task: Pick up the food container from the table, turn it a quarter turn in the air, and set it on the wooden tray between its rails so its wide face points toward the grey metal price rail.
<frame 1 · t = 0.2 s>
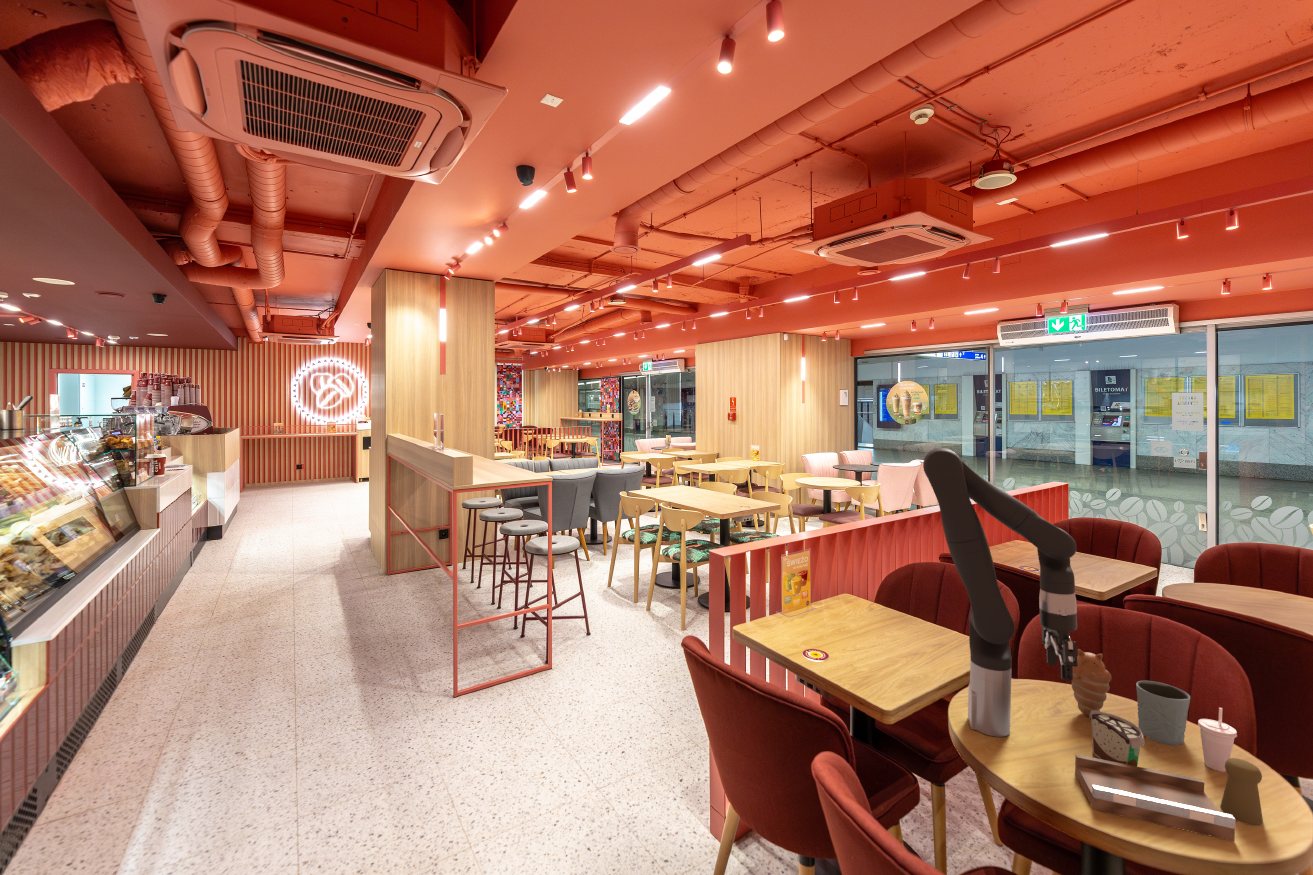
hand: (1059, 671, 136), 18 cm above the table, tool pointing down, fingers open, 8 cm apart
cork: (1241, 815, 112), on the table
wooden tray: (1147, 804, 115), on the table
grey blue pot: (1161, 735, 140), on the table
food container: (1121, 766, 128), on the table
cat ice cream: (1088, 716, 149), on the table
smoothie: (1215, 767, 127), on the table
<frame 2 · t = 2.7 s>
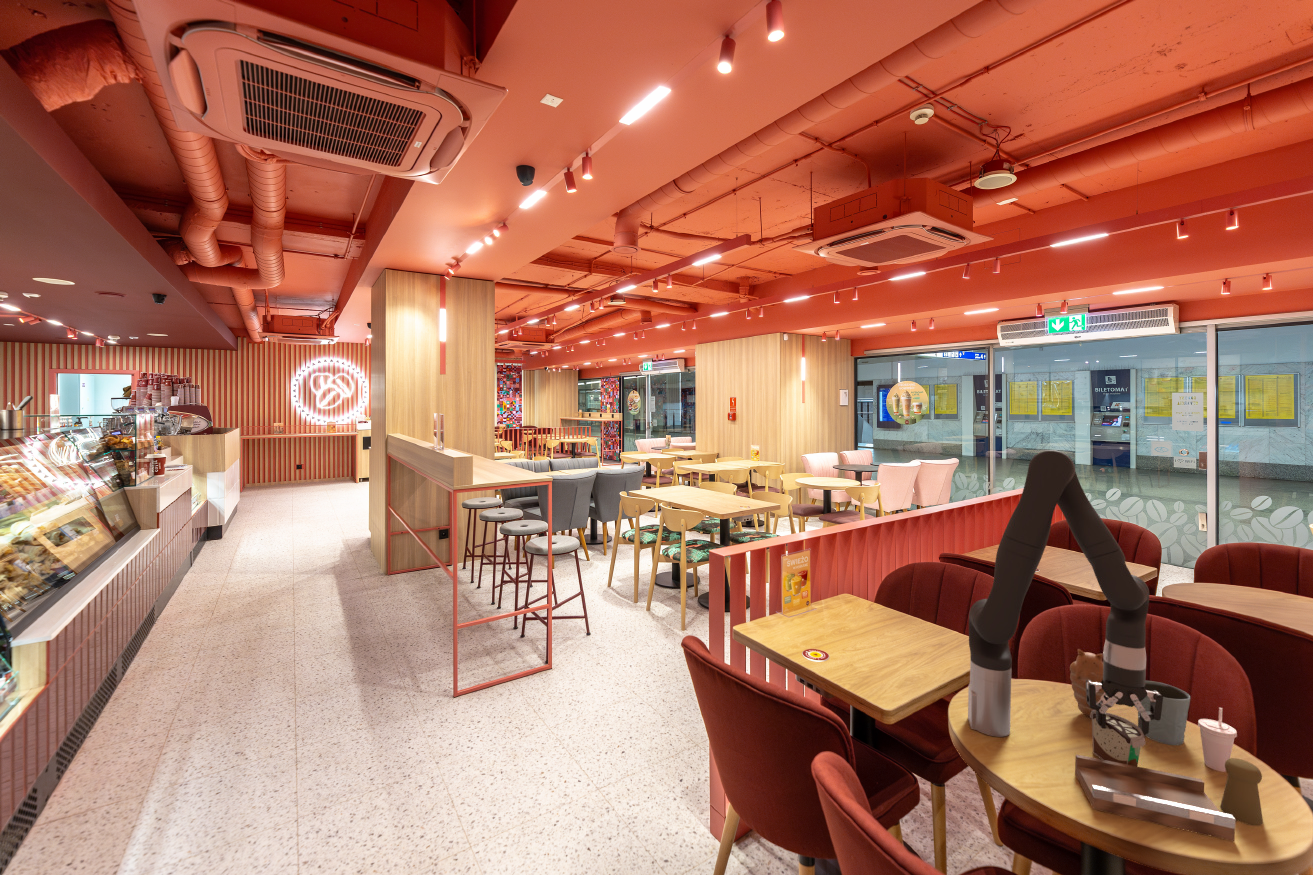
hand: (1121, 730, 128), 8 cm above the table, tool pointing down, fingers closed on food container, 7 cm apart
food container: (1121, 765, 128), on the table, touching gripper
everything else where it was.
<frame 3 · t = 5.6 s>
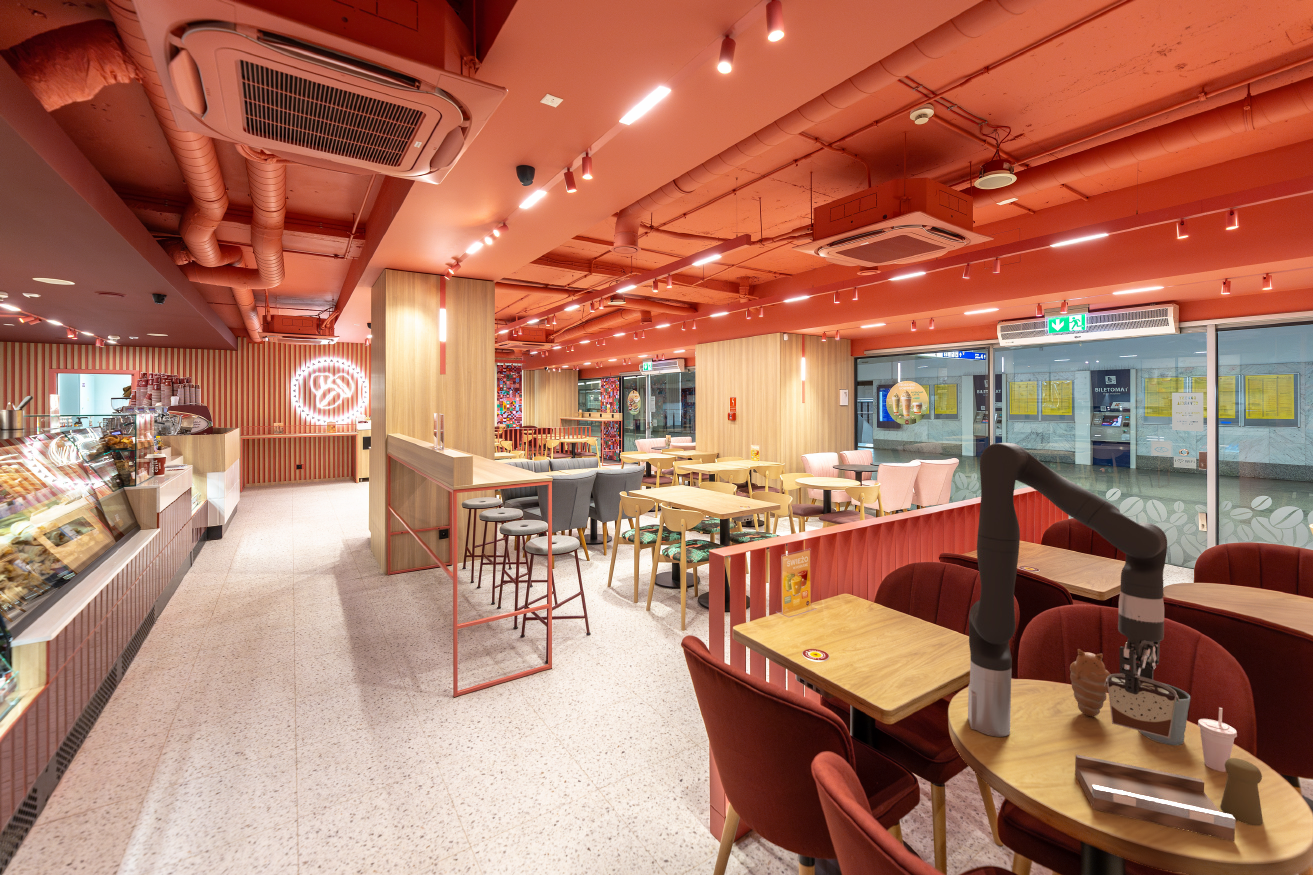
hand: (1139, 688, 120), 22 cm above the table, tool pointing down, fingers closed on food container, 7 cm apart
food container: (1139, 725, 121), point 13 cm above the table, touching gripper
everything else where it was.
when the fingers open (13 cm above the table, at t = 8.2 s): food container drops 2 cm, resting on wooden tray.
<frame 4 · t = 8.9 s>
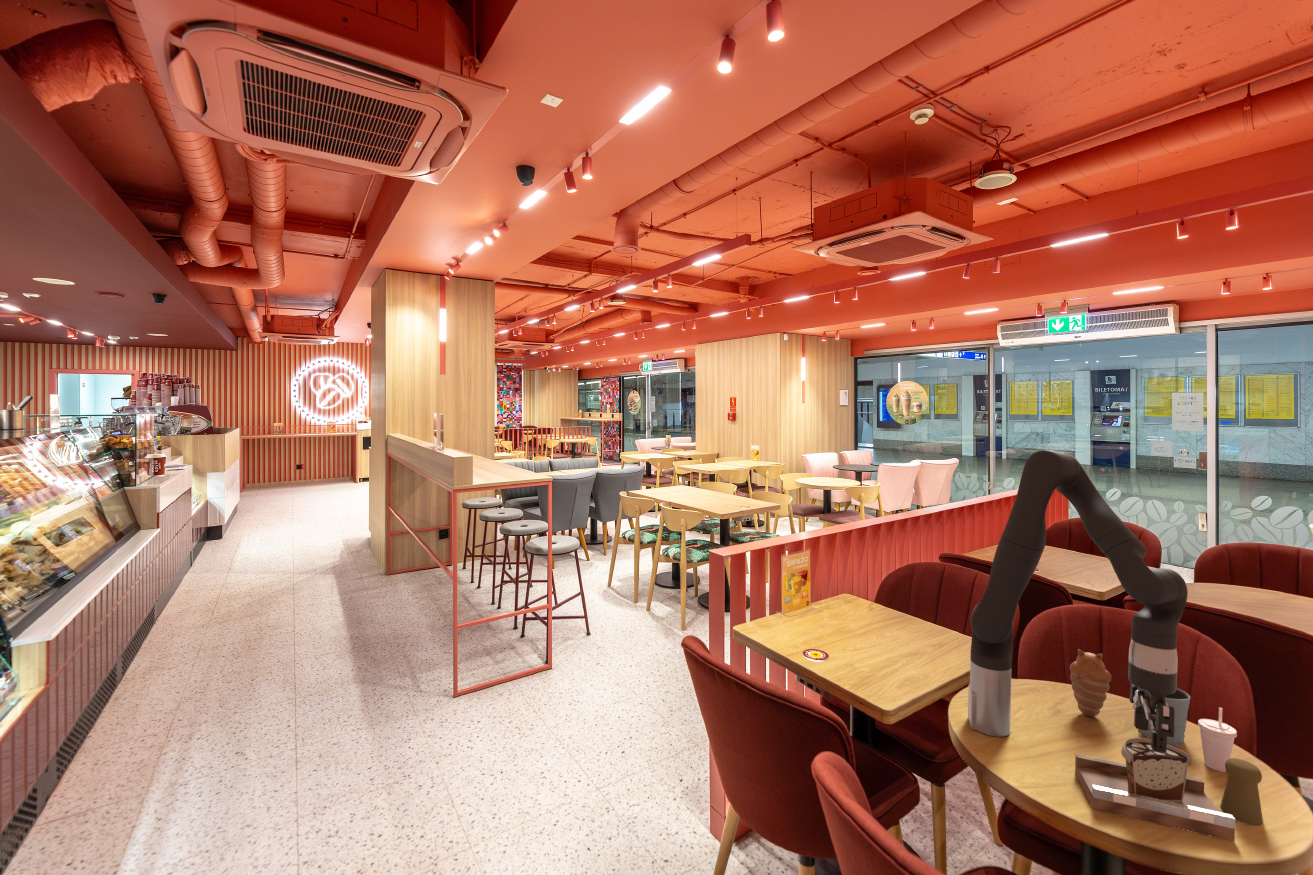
hand: (1149, 739, 114), 14 cm above the table, tool pointing down, fingers open, 8 cm apart
food container: (1146, 791, 115), point 2 cm above the table, touching wooden tray
everything else where it was.
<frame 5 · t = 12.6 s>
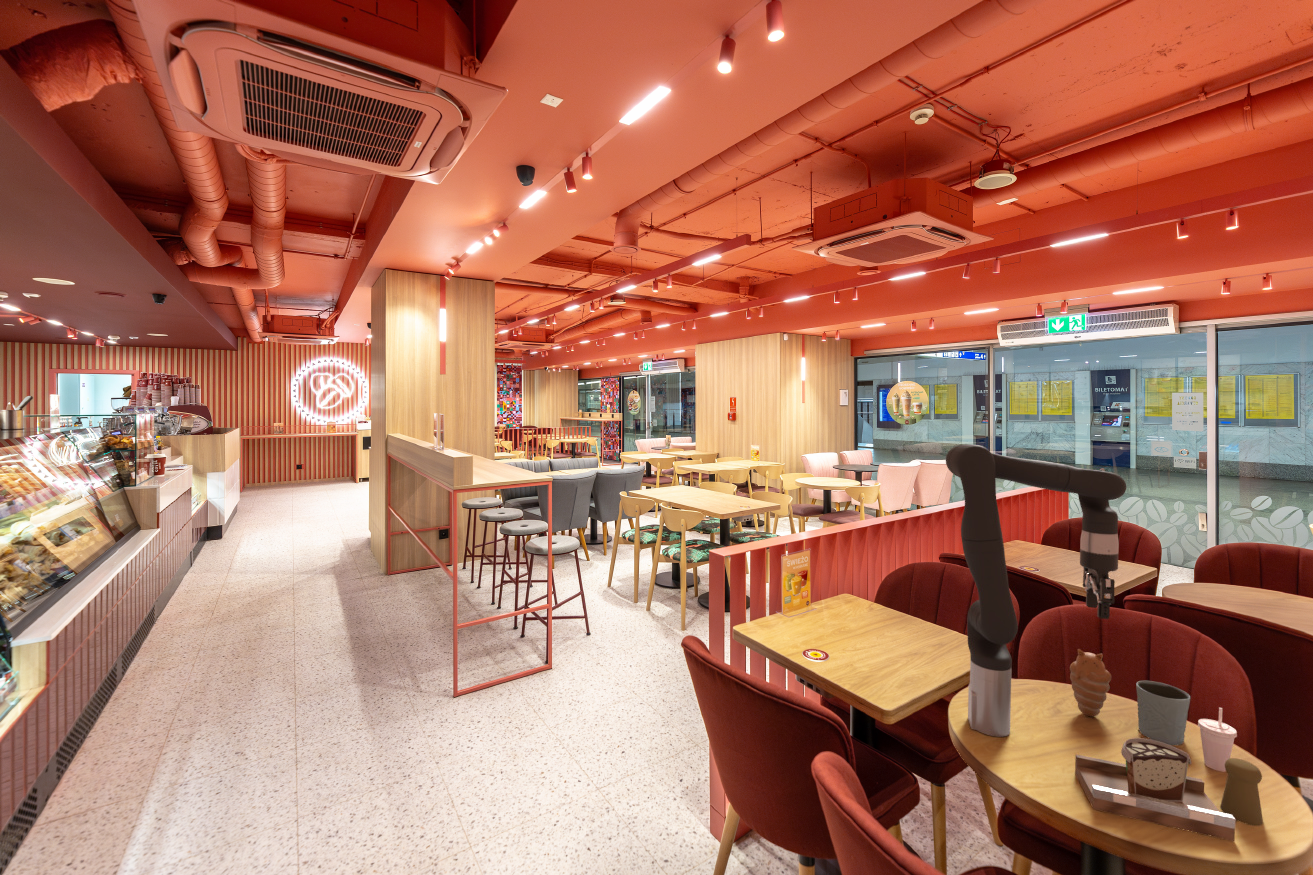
hand: (1097, 612, 138), 32 cm above the table, tool pointing down, fingers open, 8 cm apart
nothing on the table moved.
at the end: food container inside the target area on the wooden tray (0.6 cm from its centre), point 2.3 cm above the wooden tray's base; food container tilted 0°; the gripper is holding nothing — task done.
